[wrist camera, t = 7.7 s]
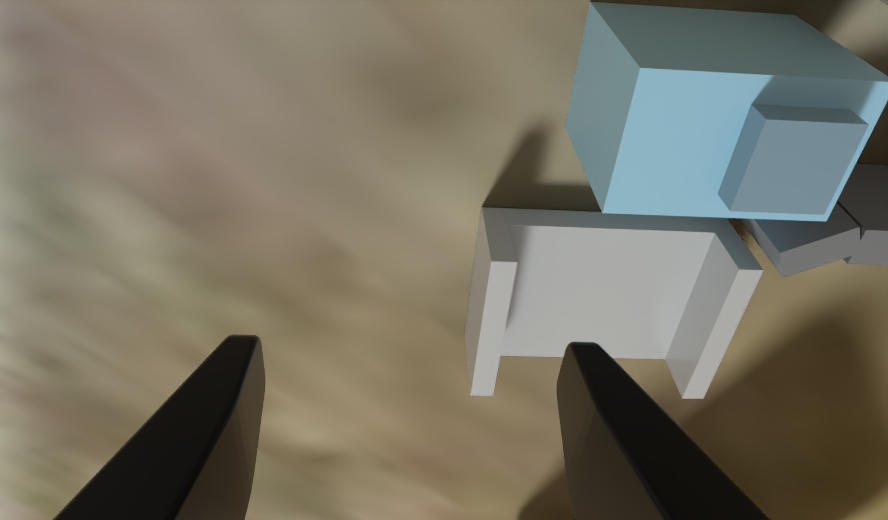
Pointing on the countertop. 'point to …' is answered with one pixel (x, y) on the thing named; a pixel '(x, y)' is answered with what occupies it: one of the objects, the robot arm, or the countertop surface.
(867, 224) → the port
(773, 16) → the light blue block
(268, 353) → the countertop surface
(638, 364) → the countertop surface
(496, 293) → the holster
